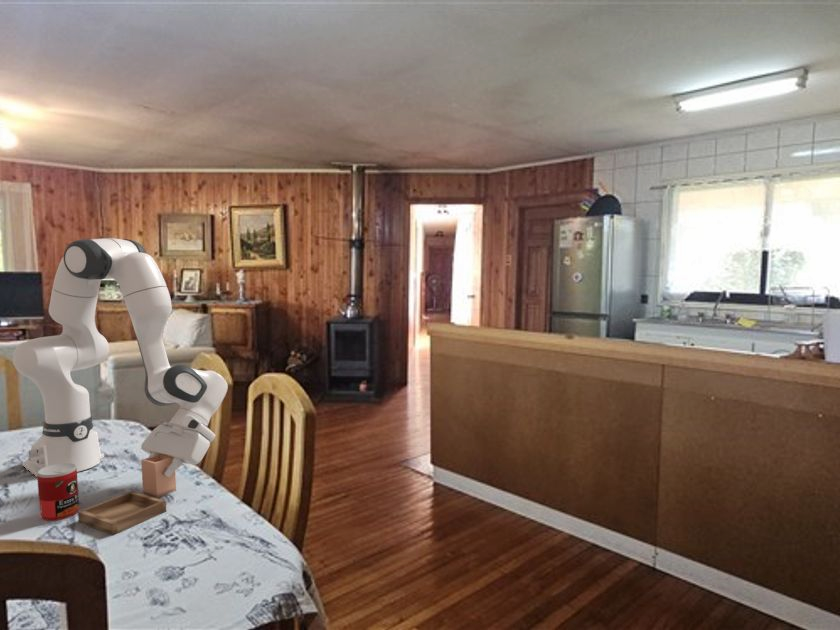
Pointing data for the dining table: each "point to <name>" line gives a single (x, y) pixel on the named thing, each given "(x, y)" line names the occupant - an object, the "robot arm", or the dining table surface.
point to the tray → (122, 512)
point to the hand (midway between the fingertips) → (156, 473)
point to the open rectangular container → (157, 476)
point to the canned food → (58, 491)
